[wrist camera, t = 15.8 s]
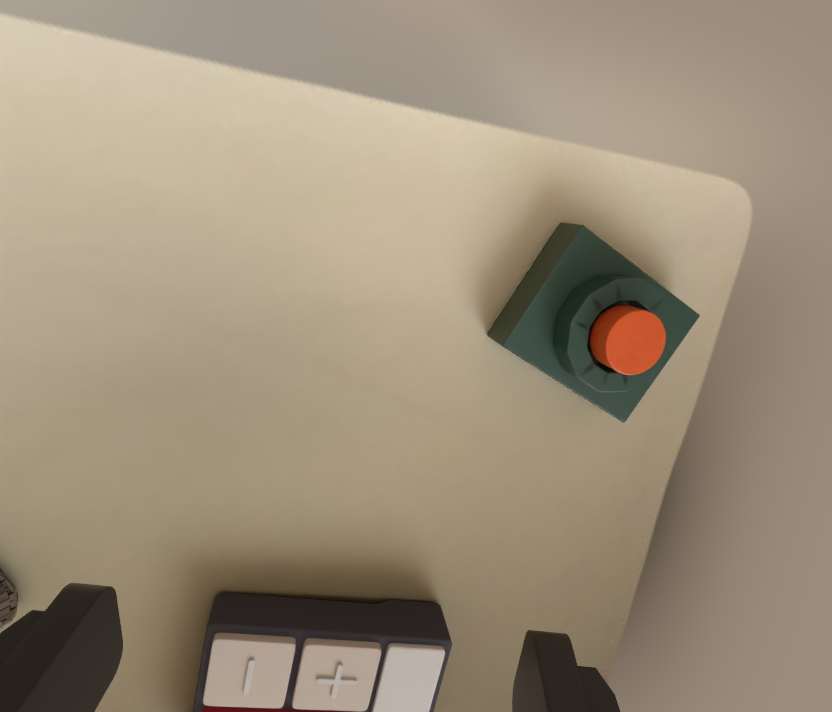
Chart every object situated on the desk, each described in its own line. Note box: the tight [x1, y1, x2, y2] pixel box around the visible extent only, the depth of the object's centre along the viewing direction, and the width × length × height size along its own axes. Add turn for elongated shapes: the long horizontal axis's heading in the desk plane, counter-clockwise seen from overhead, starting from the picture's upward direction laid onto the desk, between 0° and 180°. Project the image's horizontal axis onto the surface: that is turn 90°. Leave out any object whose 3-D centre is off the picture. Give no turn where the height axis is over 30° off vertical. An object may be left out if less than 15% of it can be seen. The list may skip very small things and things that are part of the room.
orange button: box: [590, 305, 666, 375], centre depth 31 cm, size 4×4×2 cm
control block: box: [487, 223, 699, 423], centre depth 33 cm, size 8×10×4 cm
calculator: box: [193, 592, 452, 712], centre depth 36 cm, size 11×4×15 cm
